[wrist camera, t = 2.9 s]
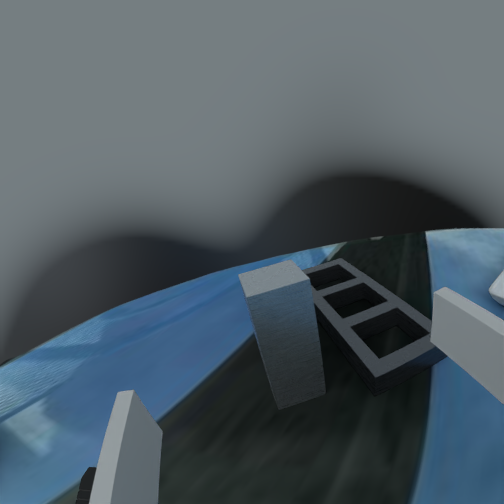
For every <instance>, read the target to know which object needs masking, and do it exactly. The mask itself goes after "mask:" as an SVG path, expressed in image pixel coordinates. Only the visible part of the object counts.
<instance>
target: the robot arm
mask: <svg viewBox="0 0 504 504" xmlns="http://www.w3.org/2000/svg"><path fill="white" fill-rule="evenodd" d="M430 342H432V343H433V344H434V345H435V346H437V347H438V348H439V349H440V350H441V351H443V352H444V353H445V354H446V355H447V356H449V357H450V358H451V359H452V360H453V361H454V362H456V363H457V364H458V365H459V366H460V367H462V368H463V369H464V370H465V371H466V372H467V373H469V374H470V375H471V376H472V377H473V378H474V379H475V380H477V381H478V382H479V383H480V384H481V385H482V386H483V387H485V388H486V389H487V390H488V391H489V392H490V393H491V394H492V395H494V396H495V397H496V398H497V399H498V400H499V401H500V402H501V403H502V404H504V320H502V319H500V318H499V317H497V316H495V315H494V314H492V313H490V312H489V311H487V310H485V309H484V308H482V307H480V306H479V305H477V304H475V303H473V302H472V301H470V300H468V299H466V298H465V297H463V296H461V295H459V294H458V293H456V292H454V291H452V290H450V289H449V288H447V287H443V288H441V289H439V290H438V291H436V292H434V300H433V316H432V328H431V338H430ZM162 433H163V432H162V430H161V429H160V427H159V426H158V425H157V423H156V422H155V420H154V419H153V418H152V416H151V415H150V413H149V412H148V410H147V409H146V407H145V406H144V405H143V403H142V401H141V400H140V398H139V397H138V395H137V394H136V392H135V391H134V390H129V391H122V392H118V394H117V397H116V400H115V403H114V406H113V410H112V413H111V417H110V420H109V423H108V427H107V430H106V434H105V438H104V441H103V445H102V449H101V453H100V457H99V461H98V465H97V468H96V467H89V468H88V469H87V471H86V472H85V474H84V475H83V477H82V479H81V483H80V487H79V490H80V491H78V495H77V499H78V500H76V504H158V488H159V470H160V456H161V444H162Z"/></svg>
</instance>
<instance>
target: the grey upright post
mask: <svg viewBox="0 0 504 504" xmlns="http://www.w3.org/2000/svg"><path fill="white" fill-rule="evenodd" d="M238 276H239V279H240V283H241V286H242V290H243V294H244V297H245V301H246V304H247V308H248V312H249V315H250V319H251V322H252V326H253V329H254V333H255V336H256V340H257V343H258V347H259V350H260V354H261V357H262V360H263V364H264V367H265V371H266V374H267V377H268V381H269V384H270V387H271V389H272V392H273V395H274V398H275V401H276V404H277V407H278V410H279V409H283V408H286V407H289V406H292V405H295V404H298V403H301V402H304V401H307V400H310V399H313V398H316V397H318V396H321V395H324V394H326V387H325V379H324V371H323V363H322V356H321V348H320V341H319V334H318V327H317V321H316V314H315V308H314V302H313V295H312V289H311V283H310V278H309V277H308V276H307V275H306V274H305V273H304V272H303V271H302V270H301V269H300V268H299V267H298V266H297V265H296V264H295V263H294V262H293V261H292V260H287V261H284V262H281V263H277V264H274V265H270V266H267V267H263V268H260V269H256V270H253V271H249V272H246V273H242V274H239V275H238Z"/></svg>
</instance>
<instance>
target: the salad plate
mask: <svg viewBox="0 0 504 504" xmlns="http://www.w3.org/2000/svg"><path fill="white" fill-rule="evenodd" d="M489 293H490V295H491V297H492V298H493V299H494V300H495V301H497V302H498V303H499V304H501V305H503V306H504V270H503V271H502V272H501V274H500V275H499V276H498V277H497V279H496V280H495V281H494V282H493V284H492V285H491V286H490V288H489Z"/></svg>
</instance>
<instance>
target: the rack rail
mask: <svg viewBox="0 0 504 504" xmlns="http://www.w3.org/2000/svg"><path fill="white" fill-rule="evenodd" d="M302 271H303V272H304V273H305V274H306V275H307V276H308V277H309V278H310V283H311V289H312V295H313V302H314V308H315V314H316V319H317V320H318V321H319V323H320V324H321V325H322V327H323V328H324V329H325V331H326V332H327V333H328V335H329V336H330V337H331V339H332V340H333V341H334V343H335V344H336V345H337V347H338V348H339V349H340V351H341V352H342V353H343V355H344V356H345V357H346V358H347V360H348V361H349V362H350V364H351V365H352V366H353V368H354V369H355V370H356V372H357V373H358V374H359V376H360V377H361V378H362V380H363V381H364V383H365V384H366V385H367V387H368V388H369V389H370V391H371V392H372V393H373V395H374V396H377V395H379V394H381V393H383V392H385V391H387V390H389V389H391V388H393V387H395V386H397V385H399V384H401V383H402V382H404V381H406V380H408V379H410V378H412V377H414V376H415V375H417V374H419V373H421V372H422V371H424V370H426V369H427V368H429V367H431V366H433V365H434V364H436V363H437V362H439V361H441V360H442V359H444V358H445V357H447V355H446V354H445V353H444V352H443V351H441V350H440V349H439V348H438V347H437V346H435V345H434V344H433V343H432V342H430V338H431V328H432V321H431V320H429V319H428V318H427V317H425V316H424V315H422V314H421V313H420V312H418V311H417V310H415V309H414V308H413V307H411V306H410V305H408V304H407V303H406V302H404V301H403V300H401V299H400V298H399V297H397V296H396V295H394V294H393V293H391V292H390V291H389V290H387V289H386V288H384V287H383V286H381V285H380V284H379V283H377V282H376V281H374V280H373V279H371V278H370V277H368V276H367V275H365V274H364V273H362V272H361V271H359V270H358V269H357V268H355V267H354V266H352V265H351V264H349V263H348V262H346V261H345V260H343V259H342V258H340V259H337V260H334V261H331V262H327V263H324V264H321V265H318V266H314V267H311V268H308V269H305V270H302ZM340 278H341V279H342V280H343V281H344V282H343V283H340V284H337V285H334V286H331V287H328V288H325V289H322V290H319V291H316V290H315V289H314V287H315V286H318V285H322V284H325V283H328V282H331V281H334V280H337V279H340ZM364 298H365V299H366V300H367V301H369V302H370V303H371V304H372V305H373V306H375V307H372V308H370V309H367V310H365V311H362V312H360V313H357V314H355V315H352V316H349V317H347V318H344V319H342V318H341V317H340V316H339V314H338V313H337V312H336V311H335V310H334V309H337V308H340V307H342V306H345V305H348V304H351V303H353V302H356V301H359V300H361V299H364ZM396 325H397V326H398V327H399V328H401V329H402V330H403V331H404V332H405V333H406V334H407V335H409V336H410V337H411V338H412V339H413V340H414V341H415V342H413V343H411V344H409V345H407V346H405V347H403V348H401V349H399V350H397V351H395V352H393V353H391V354H389V355H387V356H385V357H383V358H380V359H379V358H378V357H377V356H376V355H375V354H374V353H373V352H372V351H371V350H370V348H369V347H368V346H367V345H366V344H365V343H364V342H363V341H362V340H364V339H367V338H369V337H371V336H374V335H376V334H378V333H380V332H383V331H385V330H387V329H389V328H392V327H394V326H396Z"/></svg>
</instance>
